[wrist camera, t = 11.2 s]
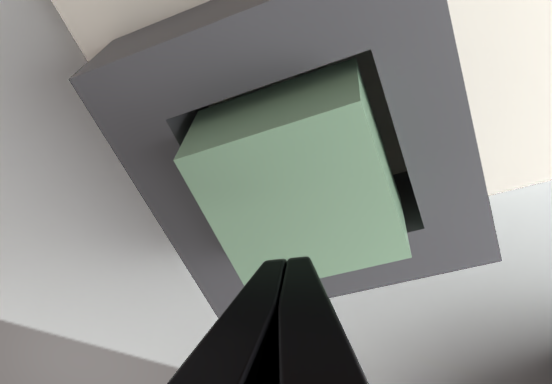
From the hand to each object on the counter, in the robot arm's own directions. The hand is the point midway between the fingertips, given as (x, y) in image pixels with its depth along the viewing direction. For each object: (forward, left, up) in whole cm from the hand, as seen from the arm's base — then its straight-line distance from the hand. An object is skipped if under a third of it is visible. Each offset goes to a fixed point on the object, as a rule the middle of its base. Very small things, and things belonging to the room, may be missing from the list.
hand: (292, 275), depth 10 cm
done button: (0, 0, -4) cm, 4 cm away
